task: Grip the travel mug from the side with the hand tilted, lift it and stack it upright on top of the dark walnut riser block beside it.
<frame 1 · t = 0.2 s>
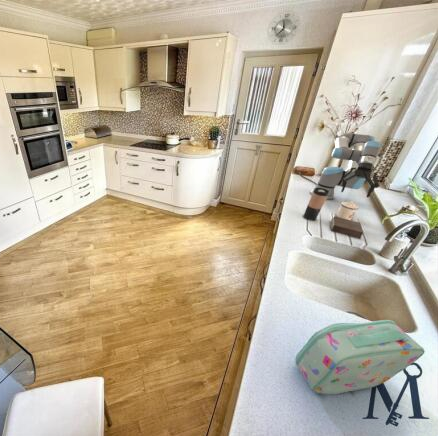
hand: (354, 194, 154), 15 cm above the worktop, tool tilted 35°, fingers open, 13 cm apart
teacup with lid: (343, 216, 159), on the worktop
travel mug: (309, 218, 155), on the worktop
lunch box: (337, 374, 70), on the worktop
walnut riser: (344, 229, 144), on the worktop
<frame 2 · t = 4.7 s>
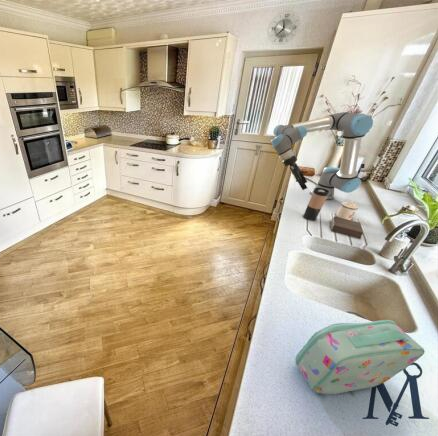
hand: (305, 185, 149), 20 cm above the worktop, tool tilted 45°, fingers open, 13 cm apart
nothing on the worktop moved.
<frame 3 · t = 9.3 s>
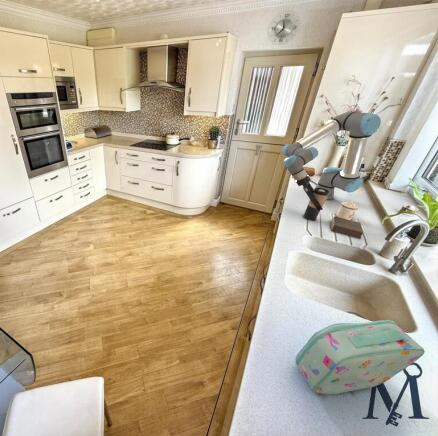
hand: (320, 207, 149), 9 cm above the worktop, tool tilted 45°, fingers closed on travel mug, 8 cm apart
travel mug: (309, 217, 155), on the worktop, touching gripper
everything else where it was.
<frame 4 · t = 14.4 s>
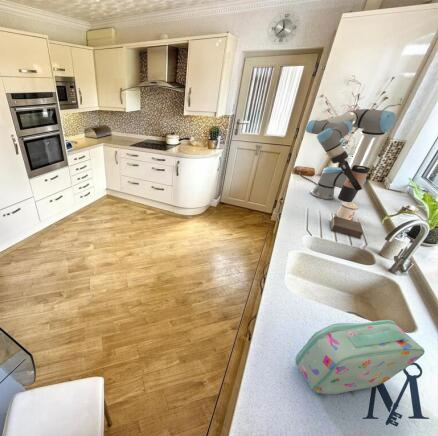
hand: (358, 187, 133), 26 cm above the worktop, tool tilted 45°, fingers closed on travel mug, 8 cm apart
travel mug: (344, 200, 139), point 18 cm above the worktop, touching gripper
everything else where it was.
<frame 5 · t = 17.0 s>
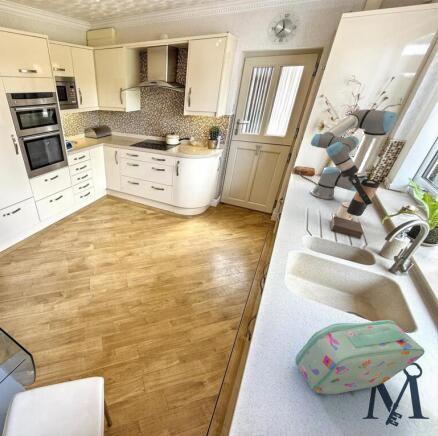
hand: (368, 201, 132), 20 cm above the worktop, tool tilted 45°, fingers closed on travel mug, 8 cm apart
travel mug: (353, 213, 138), point 11 cm above the worktop, touching gripper
everything else where it was.
when the fingers open (13 cm above the worktop, at t = 19.5 s): travel mug stays where it is, resting on walnut riser.
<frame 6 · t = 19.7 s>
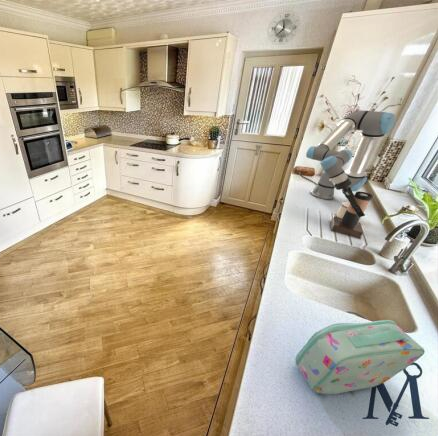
hand: (360, 212, 136), 13 cm above the worktop, tool tilted 45°, fingers open, 10 cm apart
travel mug: (347, 224, 142), point 4 cm above the worktop, touching walnut riser
everything else where it was.
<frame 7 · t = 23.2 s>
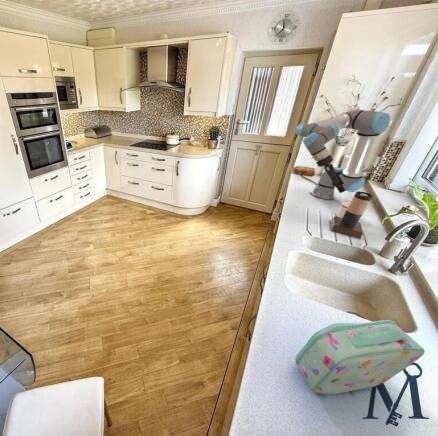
hand: (342, 188, 136), 25 cm above the worktop, tool tilted 45°, fingers open, 13 cm apart
nothing on the worktop moved.
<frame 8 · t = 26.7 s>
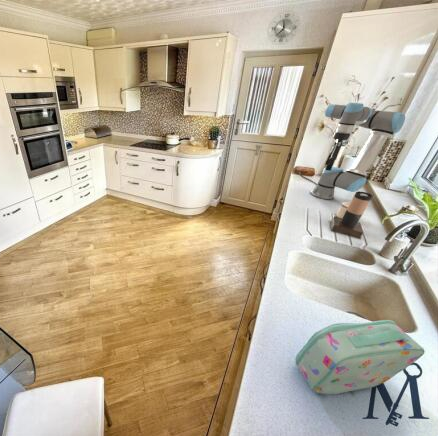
hand: (327, 167, 147), 32 cm above the worktop, tool pointing down, fingers open, 13 cm apart
nothing on the worktop moved.
at the end: travel mug inside the target area on the walnut riser (0.2 cm from its centre), point 3.8 cm above the walnut riser's base; travel mug tilted 0°; the gripper is holding nothing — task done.
